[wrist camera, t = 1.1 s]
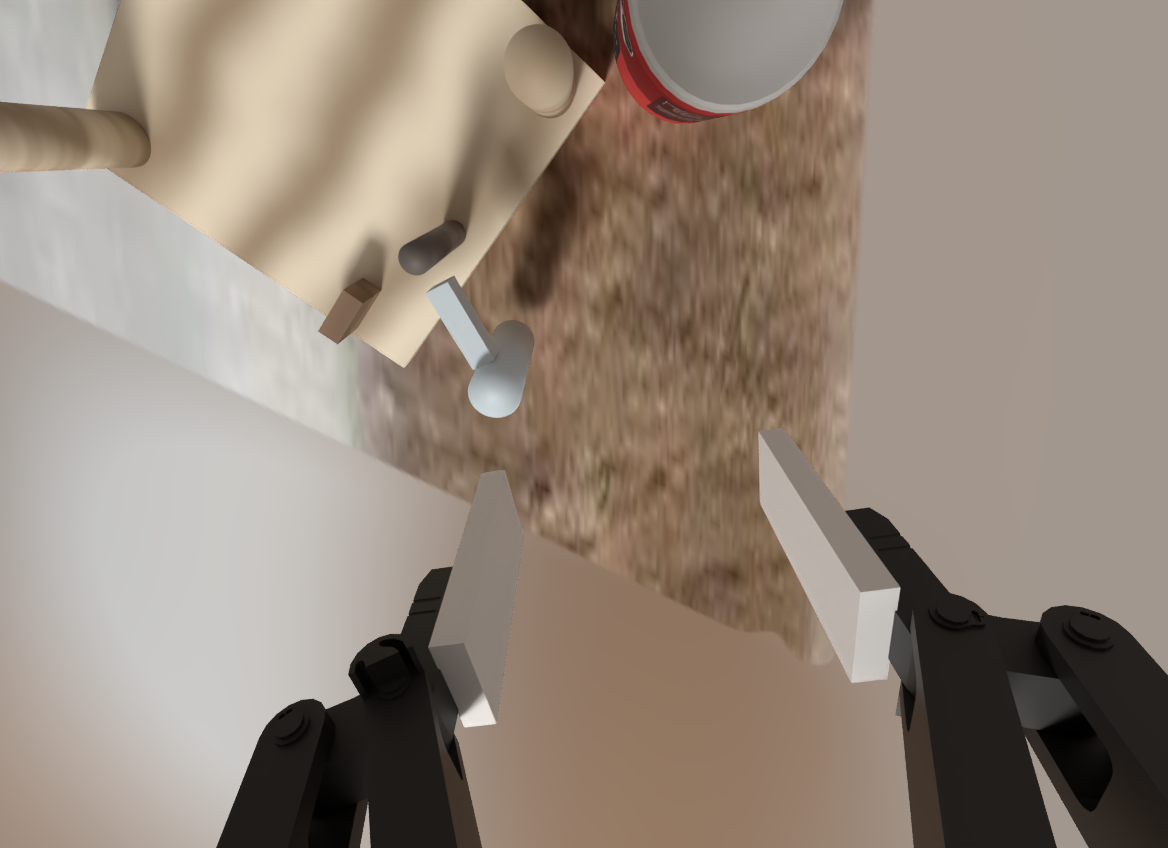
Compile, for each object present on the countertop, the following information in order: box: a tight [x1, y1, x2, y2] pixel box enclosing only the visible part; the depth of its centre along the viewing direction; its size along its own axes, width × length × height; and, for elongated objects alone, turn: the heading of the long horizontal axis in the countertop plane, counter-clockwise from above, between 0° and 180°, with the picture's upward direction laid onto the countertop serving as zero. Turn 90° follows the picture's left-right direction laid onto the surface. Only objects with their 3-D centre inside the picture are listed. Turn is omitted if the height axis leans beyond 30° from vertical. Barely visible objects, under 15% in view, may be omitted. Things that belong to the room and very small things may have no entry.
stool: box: [0, 0, 605, 368], centre depth 25 cm, size 20×20×10 cm
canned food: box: [613, 0, 844, 124], centre depth 23 cm, size 8×8×11 cm
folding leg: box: [425, 276, 534, 418], centre depth 28 cm, size 3×7×8 cm, turn 26°
